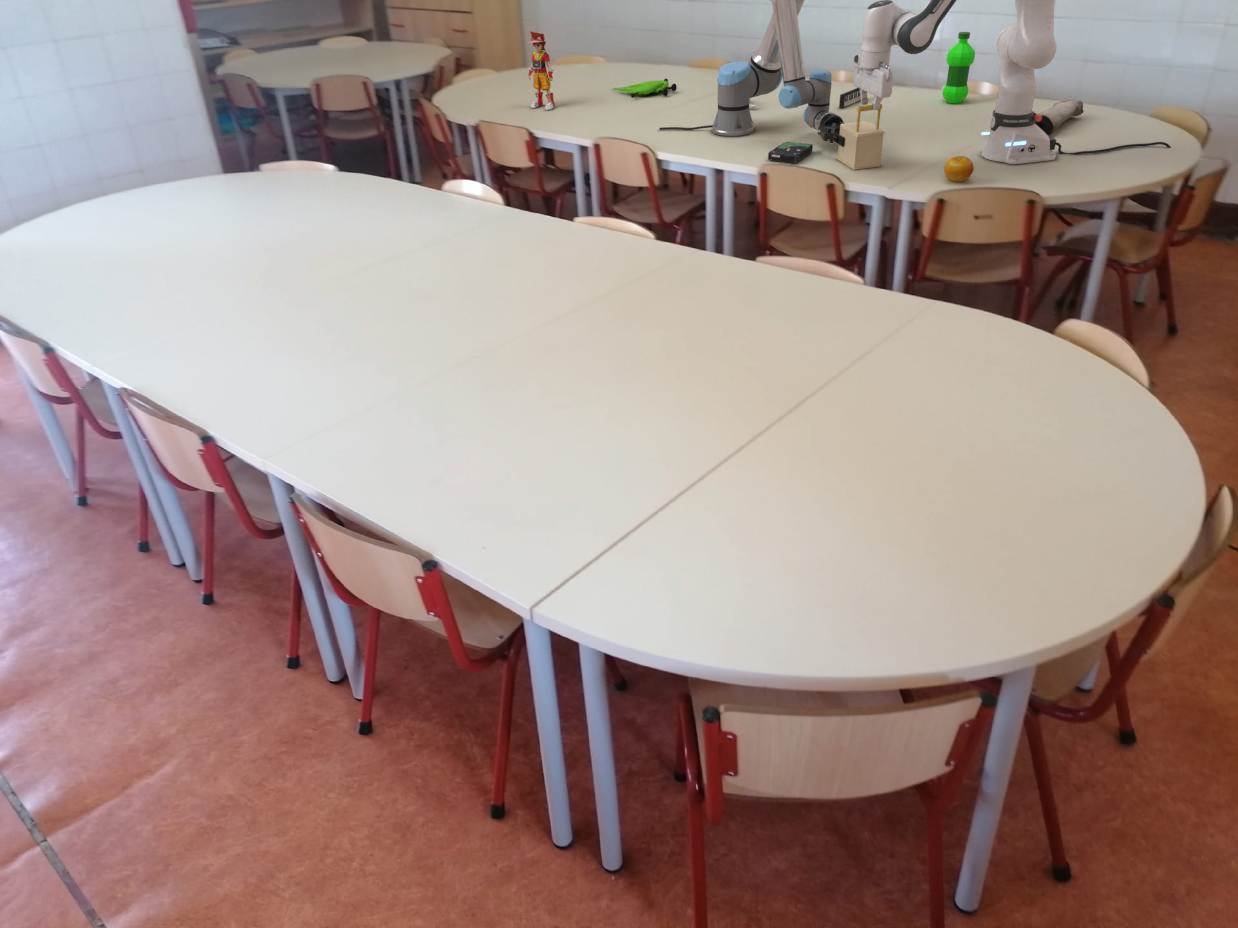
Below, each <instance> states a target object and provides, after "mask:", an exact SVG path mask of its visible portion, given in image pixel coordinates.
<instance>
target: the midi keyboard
mask: <svg viewBox="0 0 1238 928" xmlns="http://www.w3.org/2000/svg"><path fill="white" fill-rule="evenodd" d="M859 101H861V95H860V88H858V87H855V88H854V89H851V90H849V91H846V92H844V93H841V94H840V95H839V102H838V103H839V105H838V108H839V109H844V108H845V107H847V106H850V105H852V104H854V103H858V102H859Z"/></svg>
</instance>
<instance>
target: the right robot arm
mask: <svg viewBox="0 0 1238 928" xmlns="http://www.w3.org/2000/svg"><path fill="white" fill-rule="evenodd" d="M956 2H957V0H929V1H928V2H927V3H926V5H925V7H924V8H923V9H922V10H920V12H917V13H916V12H914V11H912V10H908V9H905V8H903V7H901V6H899V5H898V4H896V3H895V2H894V1H893V0H878V1H875V2H873V3H871V4H869V6H868V7H867V9H866V11H865V14H864V19H863V26H862V33H861V34H862V45H861V48H860V52H859V53H855V54H854V55H853V58H852V62H853V63H854V64H853V67H852V84H853V86H854V87H855V88H860V95H861V100H860V104H861V105H862V106H865V105H869V98H868V93H869V94H871V95H873V96H874V97H873V98H874V102H873V103H872V104H871V105H872V109H873V110H872V111H878V110H879V107H880V104H882V101H883V99H886V98H890V97H891V96H892V93H893V81H894V79H893V78H894V77H893V72H892V70H891V69H890V61H891V60H890V59H891V50H892V47H893V46H898V47H900V48H901V49H902V51H903V52H905V53H907V54H908V55H917V54H920V53H923V52H925V51H926V50H927V49H928V48H929V47H930V46H931V44H932V42H933V40H934V38H935V35H936V33H937V30H938V28H939V27H940V24H941V23H942V21H943V20H944V19H945V17H946V16H947V14H948V13H949V12H950V10H951V9H952V7H953V6H954V5H955V4H956ZM1055 5H1056V0H1014V7H1015V10H1016V23H1010V24H1008V25H1006V26H1005V27H1003V28H1002V29H1001V30H1000V32H999V34H998V35H997V39H996V49H997V52H998V89H997V95H996V101H995V106H994V110H993V111H992V115H991V119H990V123H989V124H990V125H989V127H990V131H983V132H981V136H987V135H988V137H987V140H986V143H985V145H984V148H983V150H982V152H981V157H983V158H984V159H987V160H990V161H994V162H1000V163H1005V164H1010V165H1020V164H1021V165H1022V164H1029V163H1039V162H1048V161H1055V160H1056V158H1057V154H1056V152H1055V151H1054V150H1055V148H1056V146H1057V147H1058V149H1057V152H1058V153H1059V154H1061V155H1074V156H1075V155H1076V156H1077V155H1082V154H1084V155H1086V154H1087V155H1088V154H1098V153H1104V152H1110V151H1114V150H1119V149H1125V148H1133V147H1134V148H1135V147H1148V146H1149V147H1150V146H1156V145H1162V146H1165V147H1166V148H1167V149H1171V148H1172V146H1171V145H1170V144H1169V143H1167V142H1164V141H1154V142H1146V143H1131V144H1122V145H1118V146H1112V147H1108V148H1103V149H1097V150H1096V149H1094V150H1082V151H1075V152H1064V151H1063V150H1062V145H1061V143H1060V142H1057V138H1055V137H1053V136H1051V135H1047V134H1046V133H1045V132H1044V131H1043V130H1042V129H1041V128H1040V127H1038V126H1037V125H1036V124H1035V121H1037V122H1039V121H1040V120H1042V118H1041V117H1042V116H1041V115H1040V114H1039V113H1037V112H1035V111H1033V106H1034V102H1035V98H1036V92H1037V81H1036V75H1035V70H1039V69H1043V68H1044V67H1046V66H1048V65H1049V64H1050V63H1051V62H1052V60H1053V59H1054V58H1055V56H1056V53H1057V42H1056V39H1055V31H1054V30H1055V7H1056V6H1055Z"/></svg>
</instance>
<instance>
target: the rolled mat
mask: <svg viewBox="0 0 1238 928" xmlns="http://www.w3.org/2000/svg"><path fill="white" fill-rule="evenodd" d="M1038 114H1040V115H1041V116H1042V117H1041V118H1042V120H1040V121H1039V122H1037V121H1035V124H1036V125H1037V126H1038V127H1040V128H1041V129H1042V130H1043V131H1044V132H1045V133H1046V134H1047V135H1048V136H1051V135H1052V134H1053V133H1054V132H1055V131H1056V130H1057V129H1058V128H1059V127H1060V125H1062V124H1063V123H1064V122H1066V121H1067V120H1068V119H1069V118H1071V117H1080V116H1081V115H1082V114H1084V102H1083V101H1082V100H1080V99H1067V100H1060V101H1057V102H1055V103H1053V105H1052V106H1051V107H1048V108H1046V109H1045V110H1043V111H1041V112H1039V113H1038Z"/></svg>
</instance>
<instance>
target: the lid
mask: <svg viewBox="0 0 1238 928" xmlns="http://www.w3.org/2000/svg"><path fill="white" fill-rule="evenodd" d="M882 110H883V104H882V103H880V107H879V110H877V112H876V113H877V114H876V123H875V124H872V123H871V122H868V121H867V120H863V121H861V113H862V112H870V111H874V110H873V109H872V104H866V105H858V106H857V107H856V111H857V114H856V115H857V116H856V122H855V121H854V123H853V122H846V123H845V122H844V123H845V124H840V127H842V128H843V129H845V130H847V131H848V132H850V133H852V134H854V135H855V136H857V137H862V136H870V135H878V134H884V135H885V134H886V133H885V132H886V131H885V130H884V129H882V128H880V121H881V111H882Z"/></svg>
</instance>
